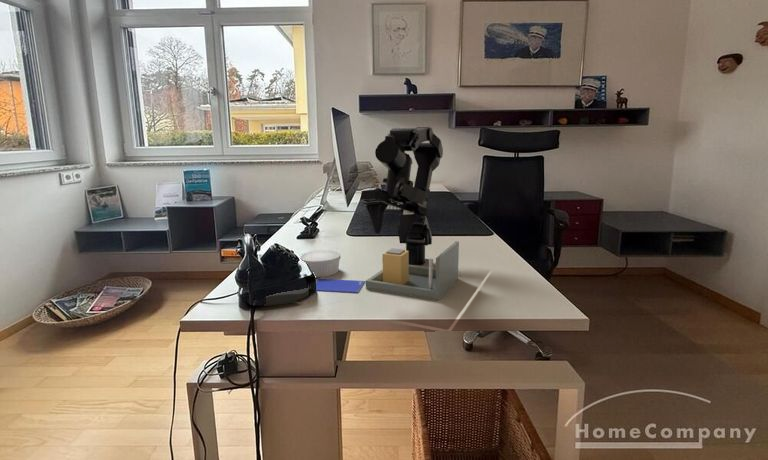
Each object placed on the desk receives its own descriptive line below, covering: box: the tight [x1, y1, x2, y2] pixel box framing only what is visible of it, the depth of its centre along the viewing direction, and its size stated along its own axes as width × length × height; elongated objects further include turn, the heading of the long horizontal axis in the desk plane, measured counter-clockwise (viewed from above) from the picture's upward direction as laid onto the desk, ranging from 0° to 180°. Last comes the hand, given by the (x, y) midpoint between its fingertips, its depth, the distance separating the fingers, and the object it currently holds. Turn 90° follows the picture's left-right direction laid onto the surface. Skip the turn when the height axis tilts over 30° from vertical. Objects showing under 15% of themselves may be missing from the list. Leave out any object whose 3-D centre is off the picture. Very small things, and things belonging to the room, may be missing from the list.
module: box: [382, 247, 410, 285], centre depth 108 cm, size 5×5×8 cm
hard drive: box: [314, 278, 366, 294], centre depth 107 cm, size 2×8×12 cm
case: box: [365, 240, 460, 301], centre depth 107 cm, size 16×19×11 cm
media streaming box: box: [263, 286, 310, 307], centre depth 104 cm, size 15×15×3 cm
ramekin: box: [299, 249, 341, 279], centre depth 118 cm, size 11×11×5 cm
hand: (390, 237), depth 104 cm, fingers open, 9 cm apart
